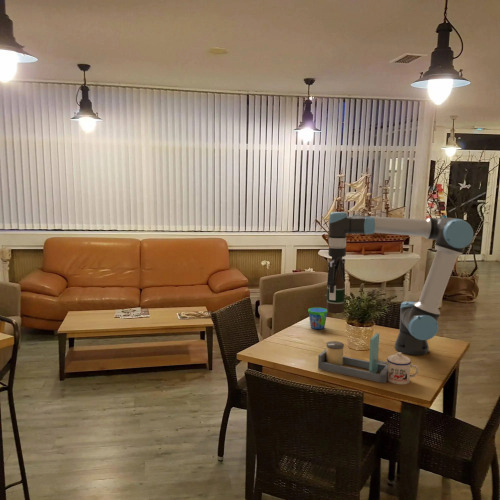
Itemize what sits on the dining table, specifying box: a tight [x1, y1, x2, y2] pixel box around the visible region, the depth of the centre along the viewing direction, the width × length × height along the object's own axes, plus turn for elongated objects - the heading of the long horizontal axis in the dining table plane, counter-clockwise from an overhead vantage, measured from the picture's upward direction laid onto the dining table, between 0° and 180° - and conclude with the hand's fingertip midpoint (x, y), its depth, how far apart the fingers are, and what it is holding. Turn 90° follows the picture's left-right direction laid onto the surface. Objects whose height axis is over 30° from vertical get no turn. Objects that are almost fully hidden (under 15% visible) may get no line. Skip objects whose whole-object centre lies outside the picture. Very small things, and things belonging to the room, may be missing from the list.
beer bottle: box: [326, 259, 346, 314], centre depth 205 cm, size 8×8×24 cm
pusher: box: [368, 332, 388, 373], centre depth 186 cm, size 7×9×16 cm
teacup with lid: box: [386, 351, 419, 385], centre depth 183 cm, size 12×9×12 cm
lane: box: [317, 348, 388, 384], centre depth 192 cm, size 28×12×6 cm, turn 59°
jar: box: [326, 340, 345, 366], centre depth 197 cm, size 7×7×10 cm
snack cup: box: [307, 307, 329, 330], centre depth 252 cm, size 16×10×10 cm
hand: (335, 298), depth 206 cm, fingers closed on beer bottle, 7 cm apart
